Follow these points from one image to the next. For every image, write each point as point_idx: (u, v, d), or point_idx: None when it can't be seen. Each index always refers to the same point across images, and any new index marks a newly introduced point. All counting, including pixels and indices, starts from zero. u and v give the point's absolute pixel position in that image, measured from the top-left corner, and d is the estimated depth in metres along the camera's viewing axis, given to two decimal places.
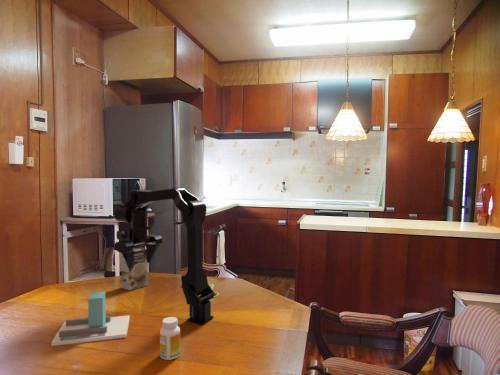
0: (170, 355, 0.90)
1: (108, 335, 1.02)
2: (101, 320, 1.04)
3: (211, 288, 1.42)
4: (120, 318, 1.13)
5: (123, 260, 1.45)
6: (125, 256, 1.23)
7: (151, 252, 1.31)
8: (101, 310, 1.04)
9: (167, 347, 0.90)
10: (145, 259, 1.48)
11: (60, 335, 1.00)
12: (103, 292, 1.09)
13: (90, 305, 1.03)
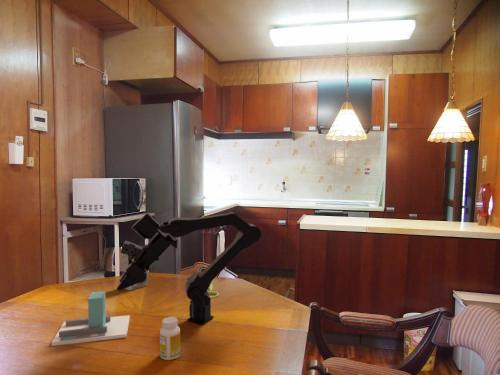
0: (170, 355, 0.90)
1: (108, 335, 1.02)
2: (101, 320, 1.04)
3: (210, 288, 1.43)
4: (120, 318, 1.13)
5: (123, 260, 1.45)
6: (126, 278, 1.04)
7: None
8: (101, 310, 1.04)
9: (167, 347, 0.90)
10: None
11: (60, 335, 1.00)
12: (103, 292, 1.09)
13: (90, 305, 1.03)
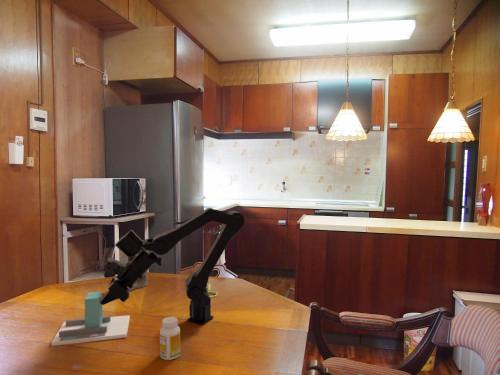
0: (170, 355, 0.90)
1: (108, 335, 1.02)
2: (98, 320, 1.04)
3: (209, 288, 1.43)
4: (120, 318, 1.13)
5: (123, 260, 1.45)
6: (110, 292, 1.06)
7: None
8: (98, 310, 1.04)
9: (167, 347, 0.90)
10: None
11: (60, 335, 1.00)
12: (100, 292, 1.09)
13: (86, 305, 1.03)
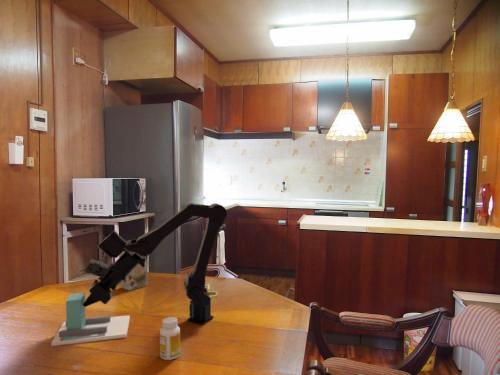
0: (170, 355, 0.90)
1: (108, 335, 1.02)
2: (80, 322, 1.03)
3: (208, 287, 1.43)
4: (120, 318, 1.13)
5: None
6: (92, 294, 1.05)
7: None
8: (79, 312, 1.03)
9: (167, 347, 0.90)
10: None
11: (60, 335, 1.00)
12: (82, 294, 1.07)
13: (68, 307, 1.02)
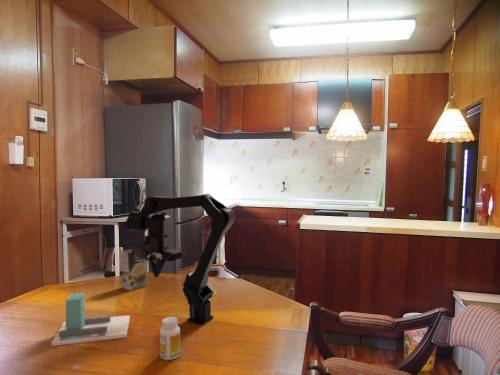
0: (170, 355, 0.90)
1: (108, 335, 1.02)
2: (79, 322, 1.03)
3: None
4: (120, 318, 1.13)
5: (123, 260, 1.45)
6: (158, 264, 1.18)
7: None
8: (79, 312, 1.03)
9: (167, 347, 0.90)
10: None
11: (60, 335, 1.00)
12: (82, 294, 1.07)
13: (67, 307, 1.02)
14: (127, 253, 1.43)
